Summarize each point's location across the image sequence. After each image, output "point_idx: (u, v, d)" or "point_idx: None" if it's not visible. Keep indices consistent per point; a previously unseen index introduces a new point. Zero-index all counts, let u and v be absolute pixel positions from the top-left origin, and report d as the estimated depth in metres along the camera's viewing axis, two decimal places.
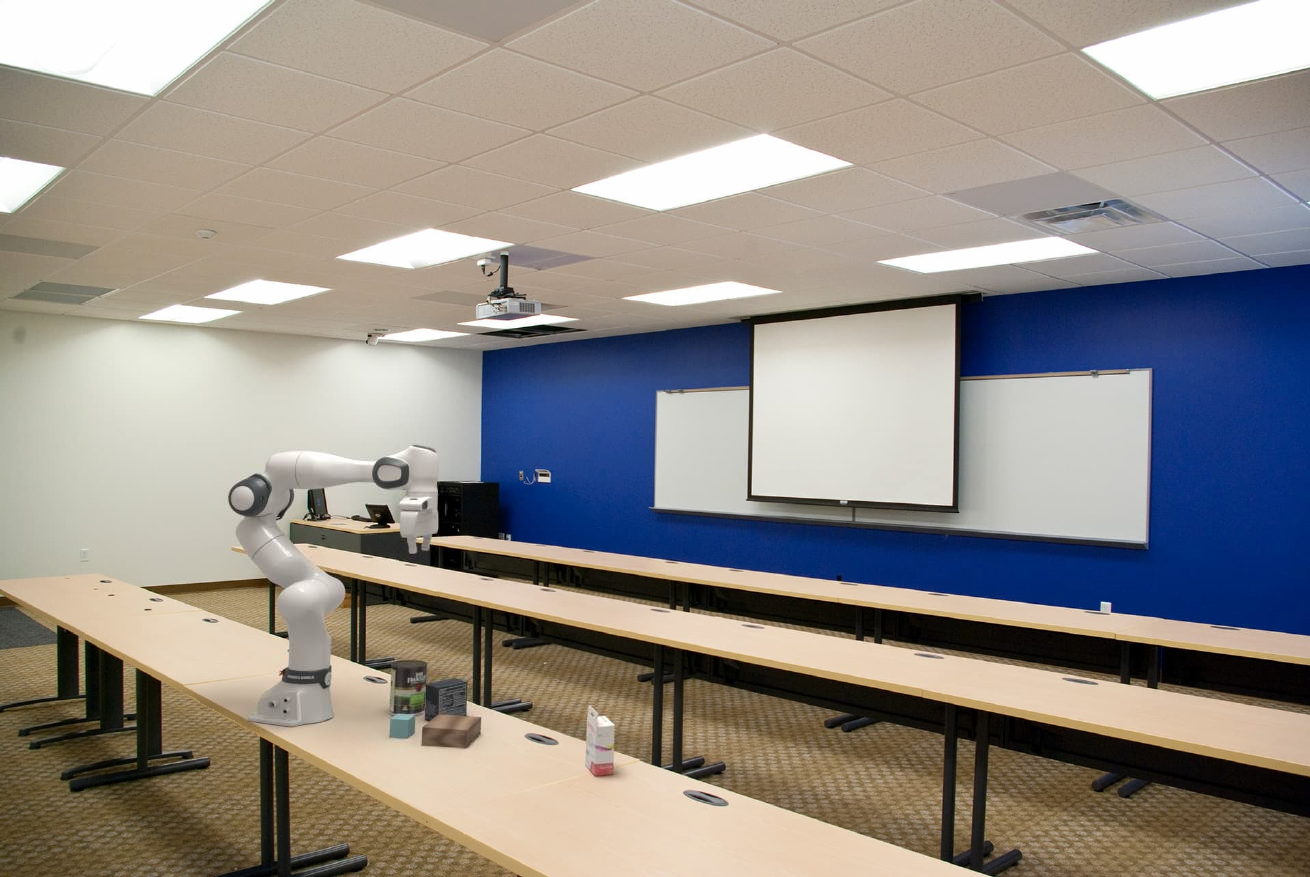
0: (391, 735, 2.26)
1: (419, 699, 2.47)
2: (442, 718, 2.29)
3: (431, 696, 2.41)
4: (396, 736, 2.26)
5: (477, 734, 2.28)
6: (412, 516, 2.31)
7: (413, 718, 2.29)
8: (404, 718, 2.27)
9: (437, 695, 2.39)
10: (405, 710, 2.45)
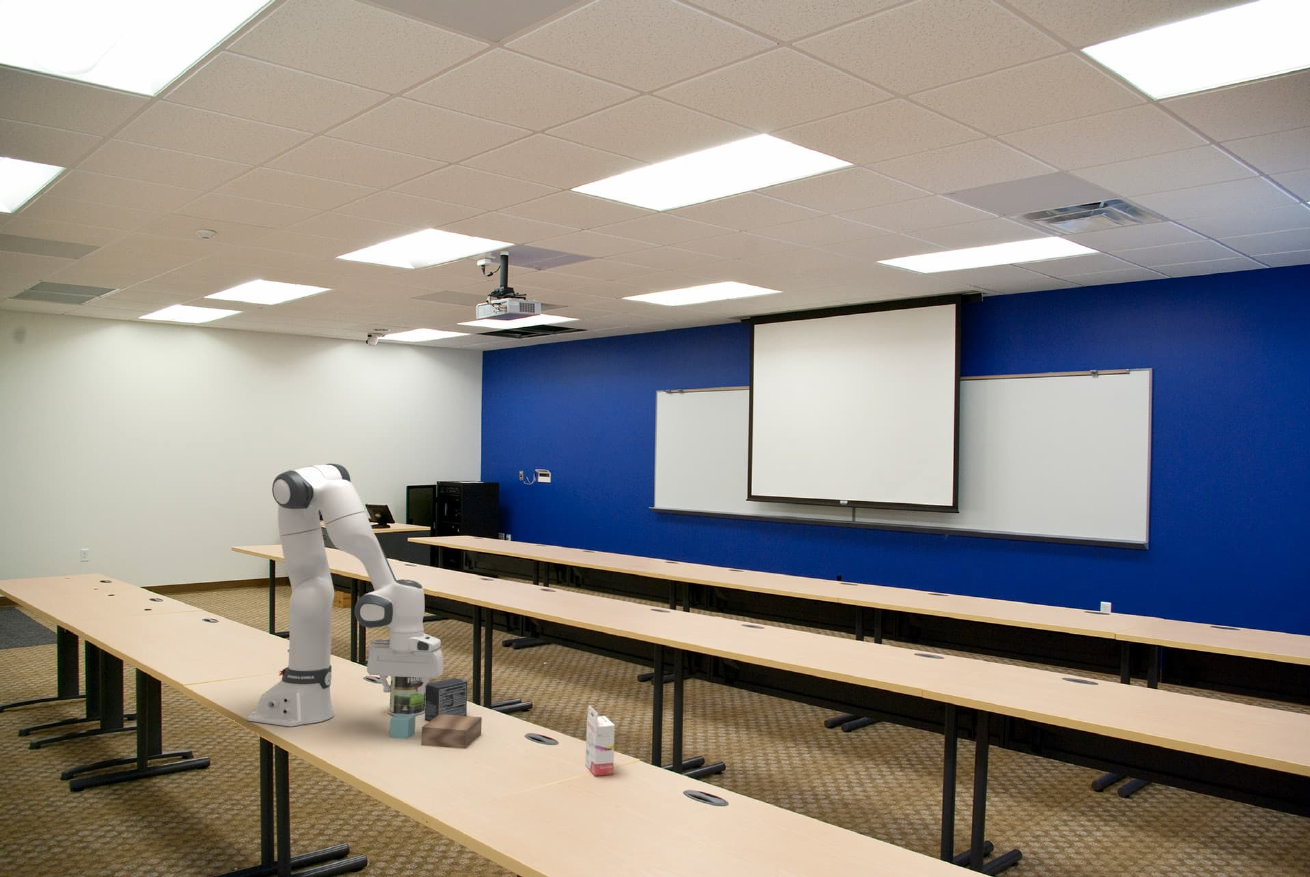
0: (391, 735, 2.26)
1: (419, 699, 2.47)
2: (442, 718, 2.29)
3: (431, 696, 2.41)
4: (396, 736, 2.26)
5: (477, 734, 2.28)
6: (441, 654, 2.29)
7: (413, 718, 2.29)
8: (404, 718, 2.27)
9: (437, 695, 2.39)
10: (405, 710, 2.45)
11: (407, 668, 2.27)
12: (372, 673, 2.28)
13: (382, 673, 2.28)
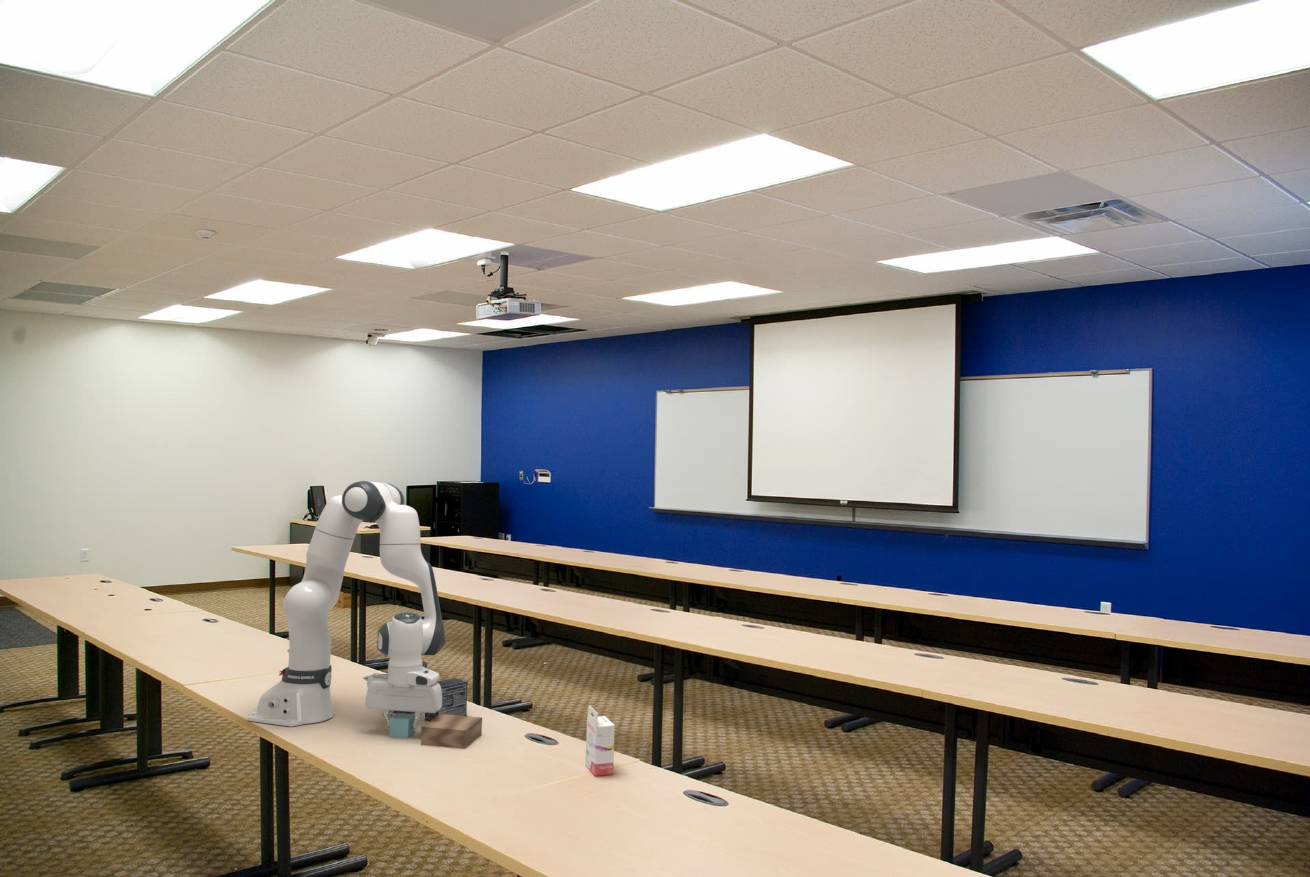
0: (391, 735, 2.26)
1: None
2: (443, 718, 2.29)
3: None
4: (396, 736, 2.26)
5: (477, 734, 2.28)
6: (440, 688, 2.29)
7: (413, 718, 2.29)
8: (404, 718, 2.27)
9: None
10: None
11: (405, 703, 2.27)
12: (371, 707, 2.28)
13: (381, 707, 2.27)
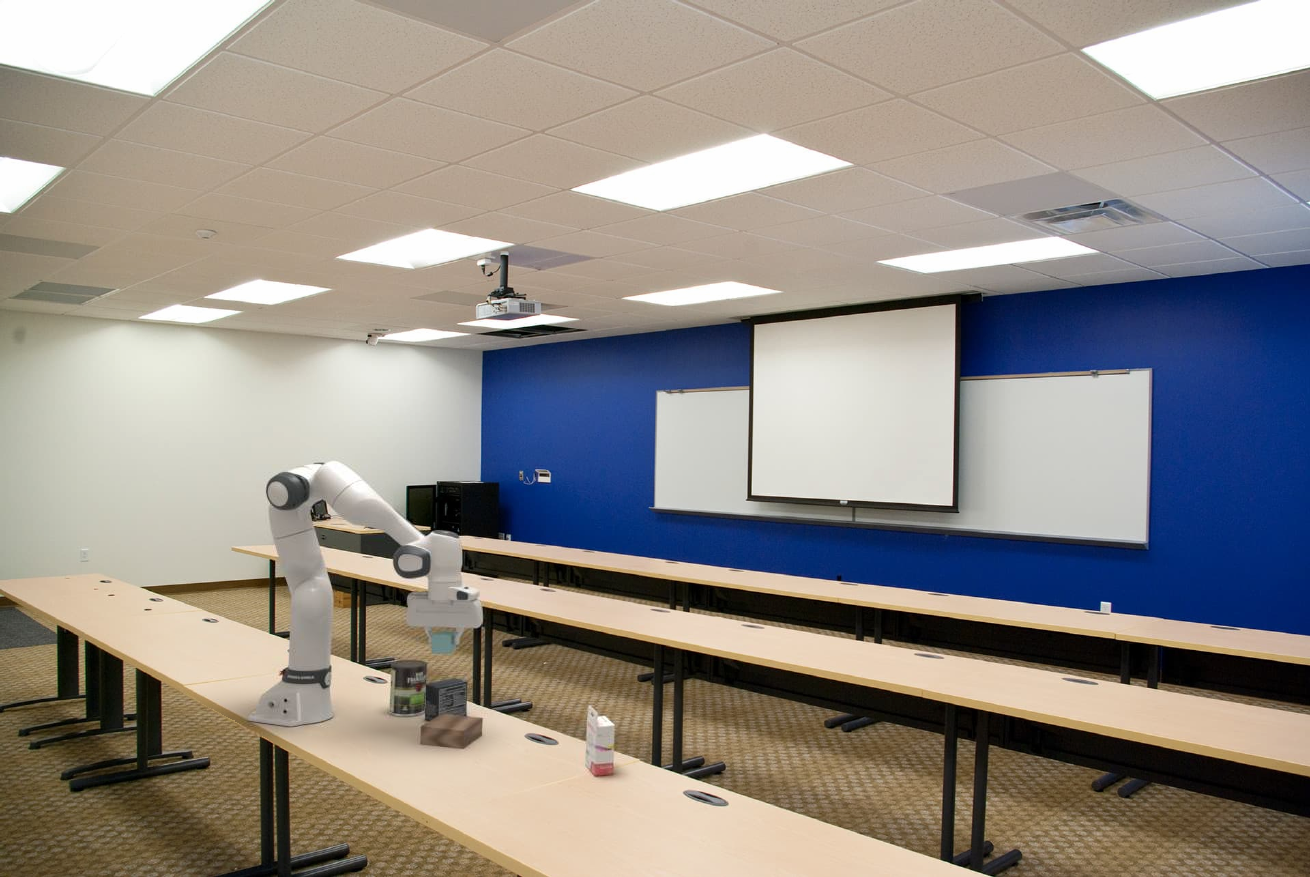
0: (433, 651, 2.25)
1: (419, 699, 2.47)
2: (443, 717, 2.29)
3: (431, 696, 2.41)
4: (438, 652, 2.24)
5: (477, 735, 2.28)
6: (480, 604, 2.27)
7: (454, 634, 2.28)
8: (445, 634, 2.25)
9: (437, 695, 2.39)
10: (405, 710, 2.45)
11: (446, 619, 2.25)
12: (411, 624, 2.26)
13: (422, 624, 2.26)
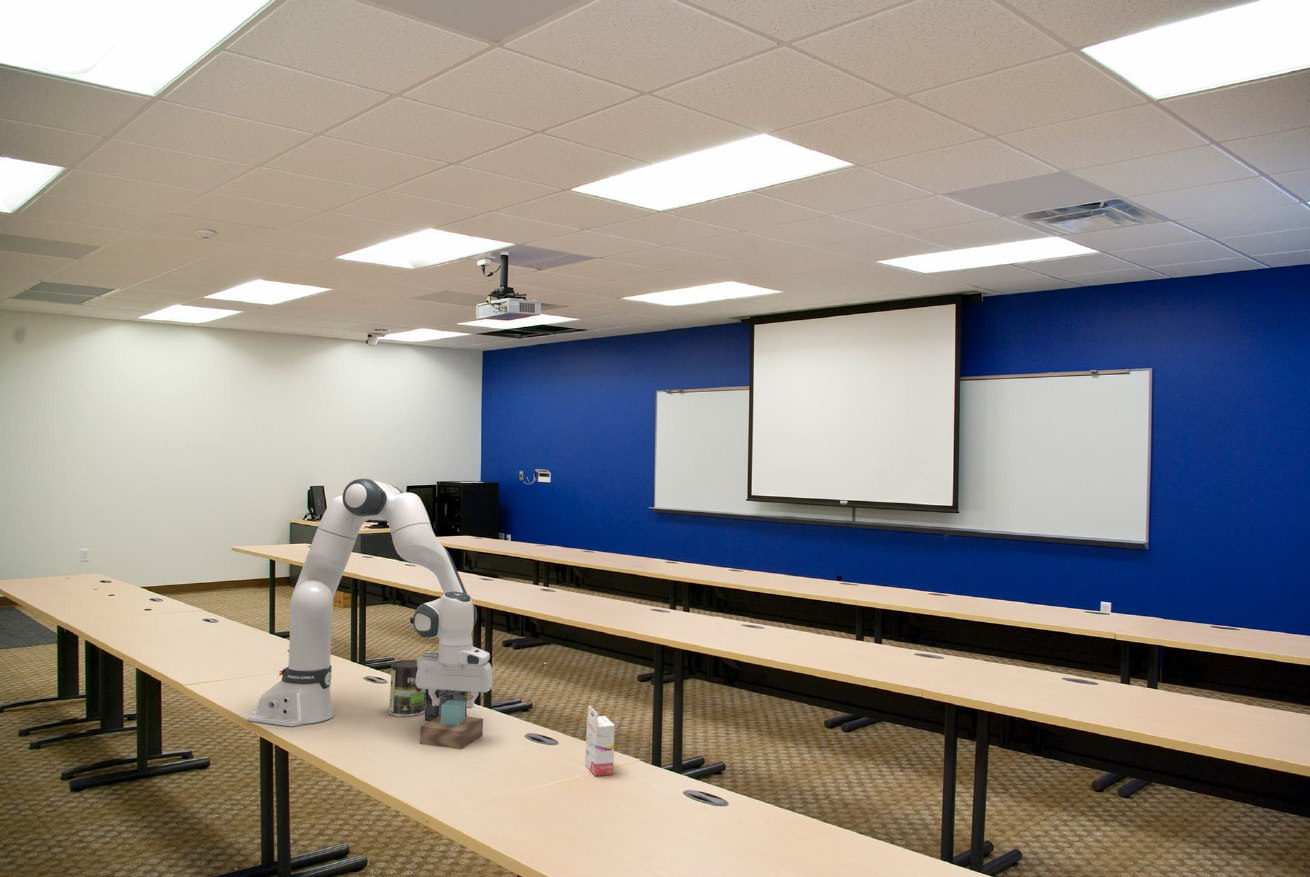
0: (442, 722, 2.24)
1: (419, 699, 2.47)
2: None
3: None
4: (447, 723, 2.23)
5: (477, 735, 2.27)
6: (490, 667, 2.27)
7: (464, 705, 2.27)
8: (455, 705, 2.25)
9: (437, 695, 2.39)
10: (405, 710, 2.45)
11: (456, 682, 2.25)
12: (421, 687, 2.25)
13: (431, 687, 2.25)
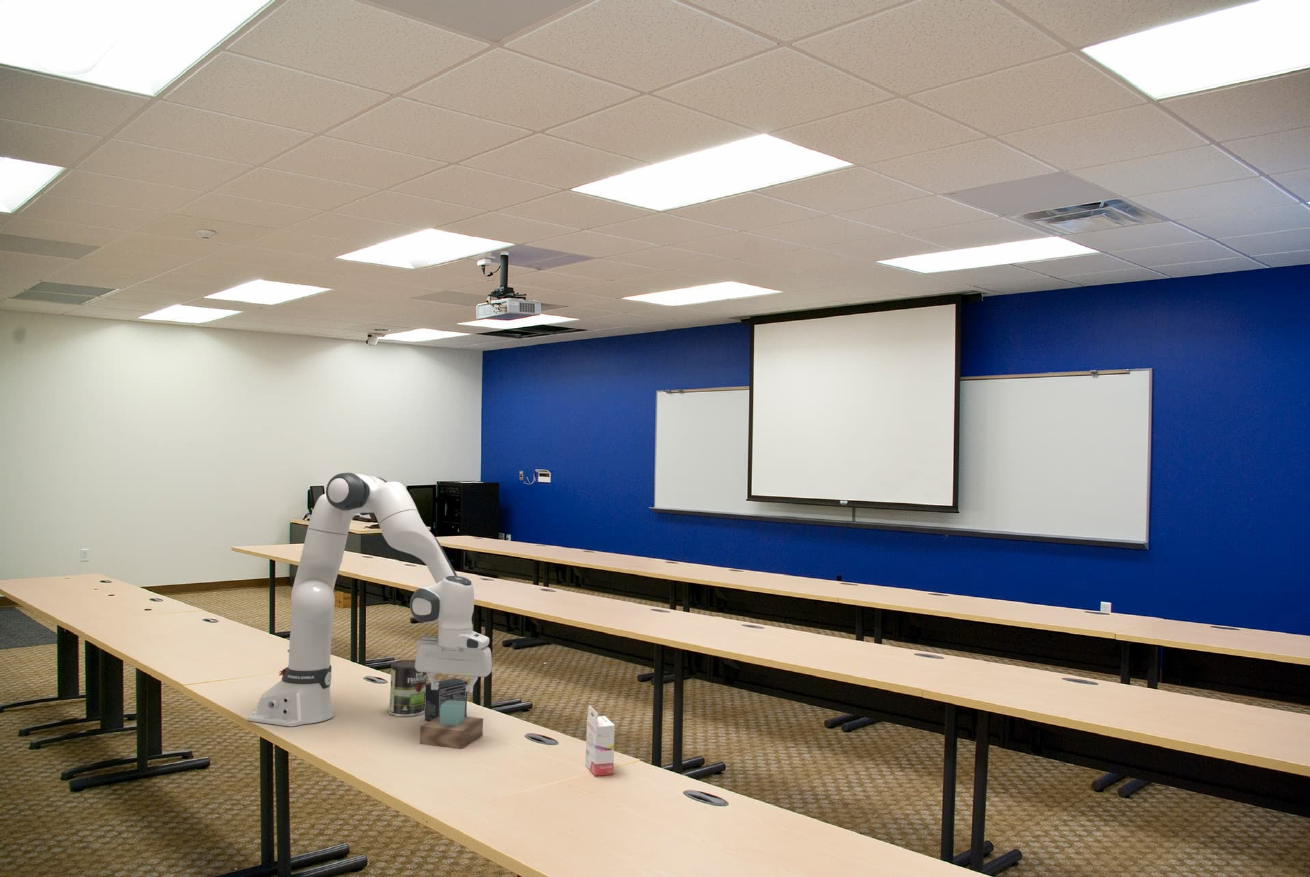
0: (441, 722, 2.24)
1: (419, 699, 2.47)
2: None
3: (431, 696, 2.41)
4: (446, 723, 2.23)
5: (477, 735, 2.27)
6: (490, 652, 2.27)
7: (463, 705, 2.27)
8: (454, 704, 2.25)
9: (437, 695, 2.39)
10: (405, 710, 2.45)
11: (455, 666, 2.24)
12: (420, 670, 2.25)
13: (430, 670, 2.25)
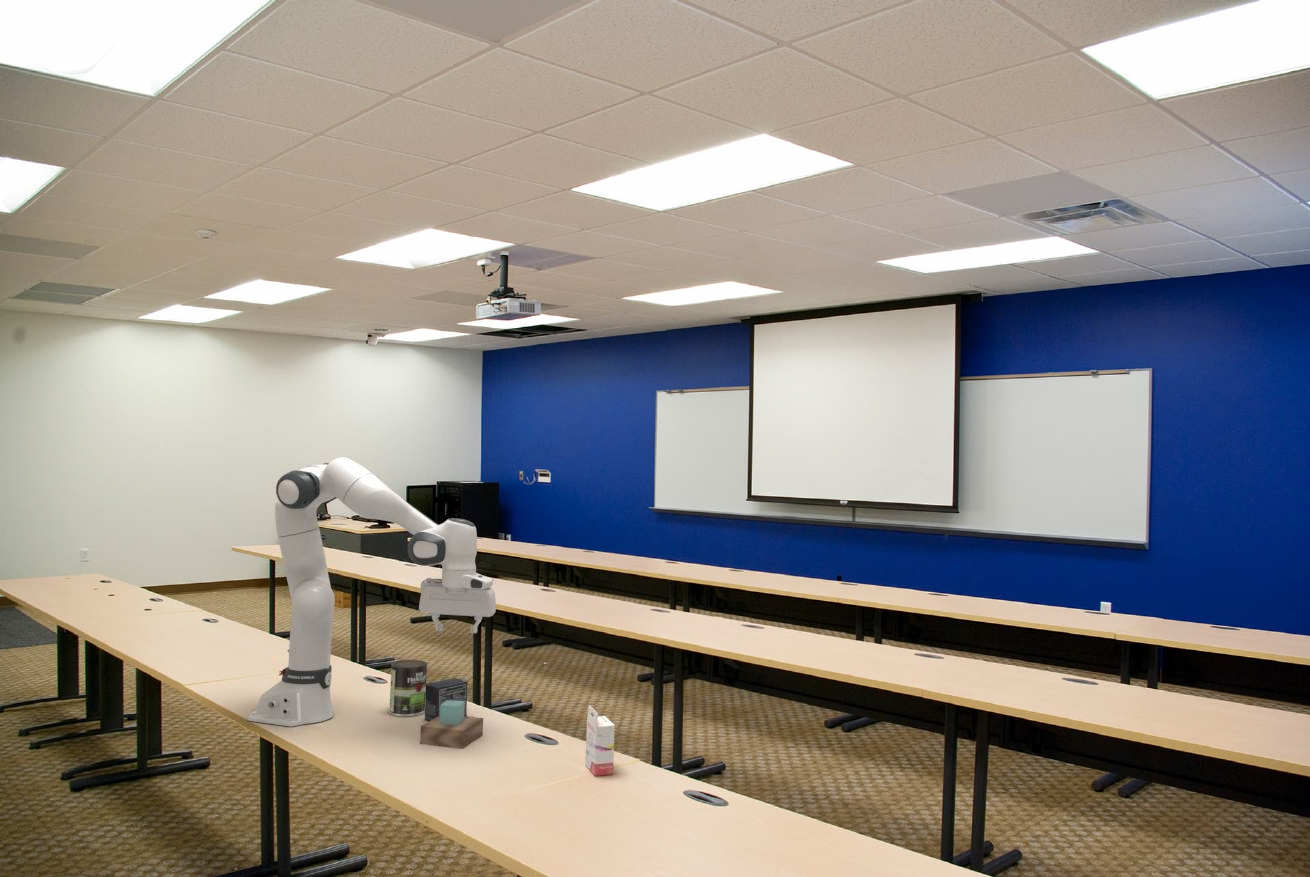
0: (441, 721, 2.24)
1: (419, 699, 2.47)
2: None
3: (431, 696, 2.41)
4: (446, 722, 2.23)
5: (477, 735, 2.28)
6: (493, 593, 2.28)
7: (463, 704, 2.27)
8: (454, 704, 2.25)
9: (437, 695, 2.39)
10: (405, 710, 2.45)
11: (459, 607, 2.25)
12: (424, 611, 2.26)
13: (434, 611, 2.26)
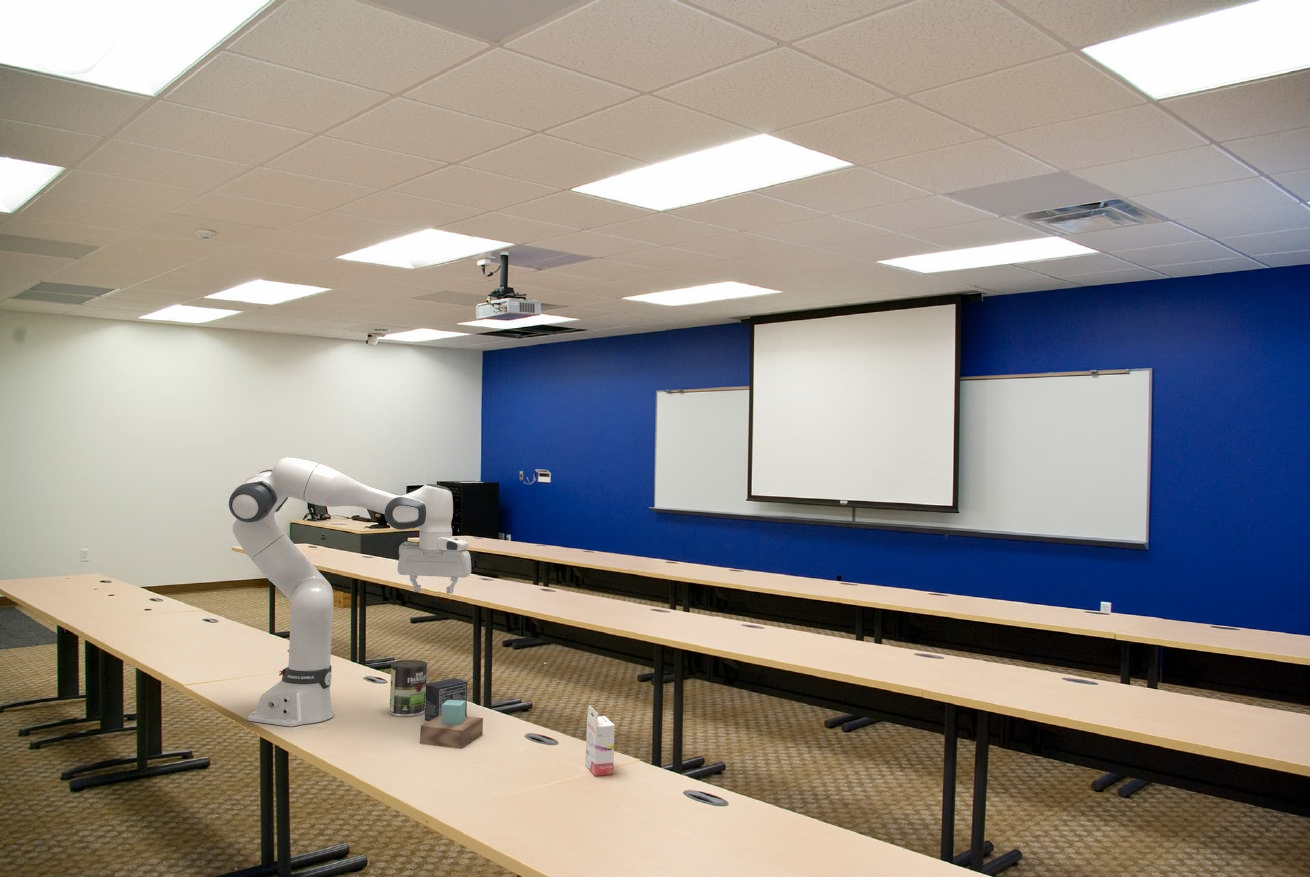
0: (443, 721, 2.24)
1: (419, 699, 2.47)
2: None
3: (431, 696, 2.41)
4: (448, 722, 2.24)
5: (477, 735, 2.28)
6: (469, 555, 2.38)
7: (464, 704, 2.28)
8: (456, 704, 2.25)
9: (437, 695, 2.39)
10: (405, 710, 2.45)
11: (436, 568, 2.36)
12: (402, 573, 2.36)
13: (412, 573, 2.36)
